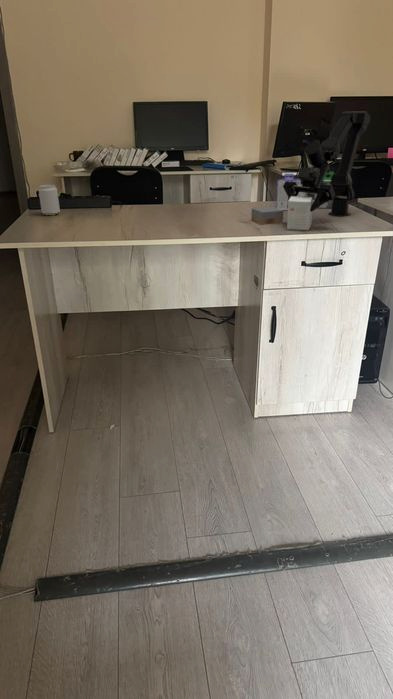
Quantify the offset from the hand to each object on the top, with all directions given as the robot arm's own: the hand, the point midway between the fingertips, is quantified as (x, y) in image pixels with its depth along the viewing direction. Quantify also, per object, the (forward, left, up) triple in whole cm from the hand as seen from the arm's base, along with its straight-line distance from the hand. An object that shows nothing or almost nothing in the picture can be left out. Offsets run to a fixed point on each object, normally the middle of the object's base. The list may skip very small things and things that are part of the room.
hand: (299, 209), depth 181 cm
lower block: (-1, -17, -7) cm, 19 cm away
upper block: (0, -17, -5) cm, 18 cm away
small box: (-1, -1, -7) cm, 7 cm away
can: (+62, -85, -7) cm, 105 cm away
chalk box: (-41, -25, -7) cm, 49 cm away
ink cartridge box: (-24, -31, -7) cm, 40 cm away
